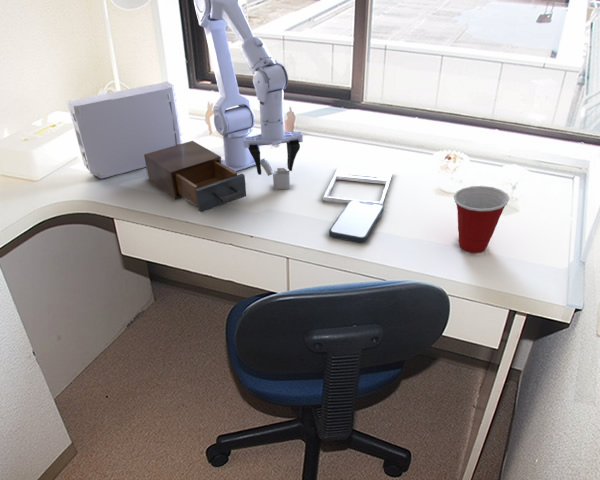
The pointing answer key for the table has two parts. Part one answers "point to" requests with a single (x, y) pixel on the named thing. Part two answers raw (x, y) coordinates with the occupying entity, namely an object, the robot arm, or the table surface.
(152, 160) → the cabinet
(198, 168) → the drawer
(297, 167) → the table surface
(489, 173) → the table surface
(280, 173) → the lighter
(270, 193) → the table surface
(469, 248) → the plastic cup
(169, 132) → the game console
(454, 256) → the table surface
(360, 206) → the smartphone
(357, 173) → the photo frame
